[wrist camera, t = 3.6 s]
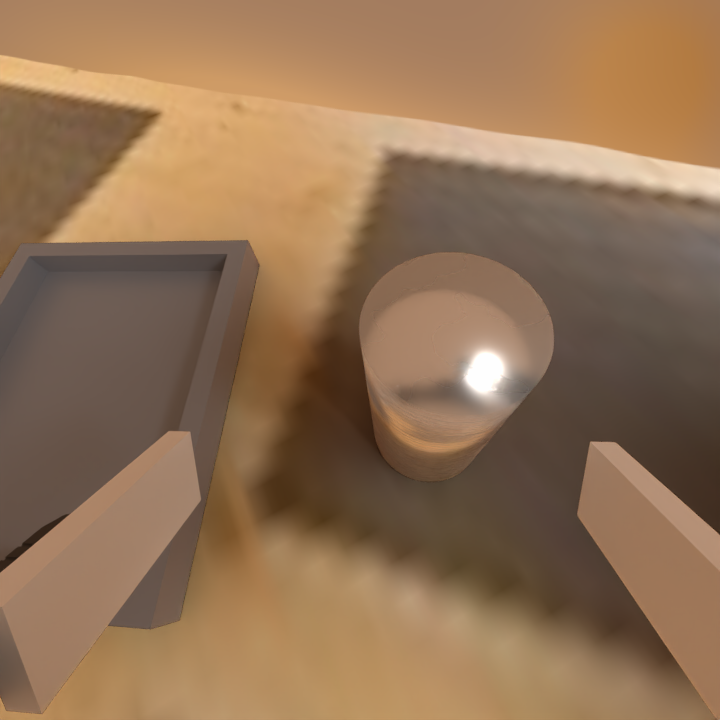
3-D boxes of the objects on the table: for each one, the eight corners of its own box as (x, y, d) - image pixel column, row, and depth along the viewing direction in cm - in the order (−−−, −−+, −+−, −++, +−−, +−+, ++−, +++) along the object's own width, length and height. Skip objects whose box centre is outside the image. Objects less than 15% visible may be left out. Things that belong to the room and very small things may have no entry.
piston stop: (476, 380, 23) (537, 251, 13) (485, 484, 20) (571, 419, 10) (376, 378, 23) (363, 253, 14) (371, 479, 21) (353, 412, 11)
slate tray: (259, 265, 28) (248, 240, 26) (179, 620, 18) (149, 629, 16) (48, 266, 30) (21, 243, 28) (-129, 594, 20) (-194, 598, 18)
